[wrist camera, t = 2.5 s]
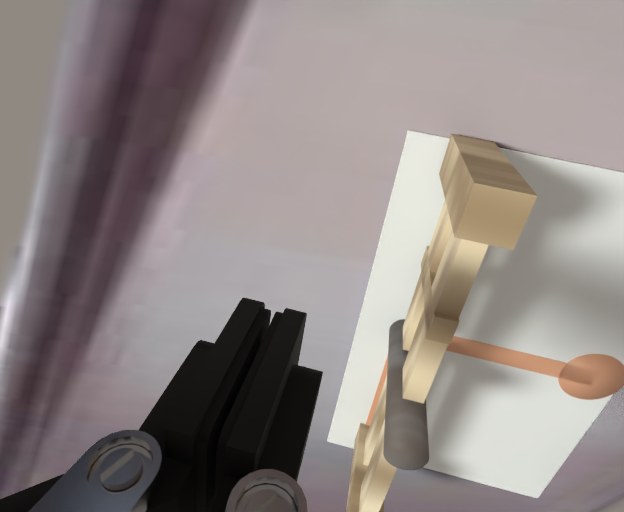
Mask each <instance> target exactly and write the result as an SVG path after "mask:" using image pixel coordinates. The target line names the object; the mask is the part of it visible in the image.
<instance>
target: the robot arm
mask: <svg viewBox="0 0 624 512" xmlns="http://www.w3.org/2000/svg"><path fill="white" fill-rule="evenodd" d="M264 307H265V305H264V302H259V301H255V300H251V299H247V298H242V299H241V301H240V302H239V304H238V306H237V307H236V309H235V311H234V312H233V314H232V316H231V317H230V319H229V321H228V322H227V324H226V326H225V327H224V329H223V331H222V332H221V334H220V335H219V337H218V339H217V340H216V342H215V344H214V343H210V342H206V341H202V340H200V341H198V342H197V343H196V345H195V346H194V347H193V349H192V350H191V352H190V353H189V355H188V356H187V358H186V359H185V361H184V362H183V364H182V365H181V367H180V368H179V370H178V371H177V373H176V374H175V376H174V377H173V379H172V380H171V382H170V383H169V385H168V386H167V388H166V390H165V391H164V393H163V394H162V396H161V397H160V399H159V400H158V402H157V403H156V405H155V406H154V408H153V409H152V411H151V412H150V414H149V415H148V417H147V418H146V420H145V421H144V423H143V424H142V426H141V427H140V429H139V430H122V431H118V432H114V433H111V434H109V435H107V436H105V437H103V438H101V439H99V440H98V441H97V442H96V443H95V444H93V445H92V446H91V447H90V448H89V449H88V450H87V451H86V452H85V453H84V454H83V455H82V456H81V457H80V458H79V459H78V460H77V461H76V462H75V463H74V464H73V465H72V467H71V468H70V469H69V470H68V471H67V472H66V473H65V474H62V475H60V476H57V477H55V478H52V479H50V480H47V481H45V482H42V483H40V484H37V485H35V486H32V487H30V488H28V489H25V490H23V491H20V492H18V493H15V494H13V495H10V496H8V497H5V498H3V499H0V512H307V503H306V498H305V496H304V493H303V491H302V488H301V487H300V486H299V485H298V483H297V479H298V474H299V470H300V466H301V462H302V458H303V454H304V450H305V446H306V442H307V438H308V434H309V430H310V426H311V421H312V417H313V413H314V409H315V405H316V400H317V396H318V392H319V387H320V383H321V378H322V374H323V372H321V371H317V370H314V369H310V368H306V367H302V366H298V361H299V355H300V350H301V344H302V339H303V333H304V327H305V322H306V315H307V314H306V313H304V312H300V311H296V310H292V309H288V308H286V309H285V310H284V312H283V313H280V312H276V313H275V315H274V317H273V319H272V322H271V324H270V316H271V310H268V309H264ZM269 324H270V326H269Z"/></svg>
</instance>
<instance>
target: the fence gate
mask: <svg viewBox="0 0 624 512" xmlns="http://www.w3.org/2000/svg"><path fill="white" fill-rule="evenodd" d="M439 176H440V180H441V184H442V188H443V192H444V196H445V201H444V204H443V207H442V210H441V213H440V216H439V219H438V222H437V225H436V228H435V231H434V234H433V237H432V240H431V243H430V246H427V247H426V250H425V253H424V256H423V259H422V262H421V273H420V276H419V279H418V282H417V286H416V289H415V292H414V295H413V298H412V301H411V304H410V307H409V310H408V313H407V316H406V319H405V322H404V325H403V350H407V351H409V352H408V355H407V358H406V360H405V363H404V366H403V398H404V399H408V400H412V401H415V402H419V403H423V404H424V401H425V399H426V397H427V394H428V392H429V389H430V387H431V384H432V382H433V380H434V377H435V375H436V372H437V370H438V367H439V365H440V363H441V360H442V358H443V355H444V353H445V350H446V348H447V346H448V344H449V345H450V343H451V341H452V339H453V336H454V334H455V331H456V329H457V327H458V324H459V316H460V314H461V311H462V309H463V307H464V304H465V302H466V299H467V297H468V294H469V292H470V290H471V287H472V285H473V282H474V280H475V277H476V275H477V273H478V270H479V268H480V265H481V263H482V260H483V258H484V256H485V253H486V251H487V248H488V246H489V245H492V246H496V247H501V248H505V249H510V250H514V248H515V245H516V243H517V241H518V239H519V236H520V234H521V232H522V230H523V227H524V225H525V223H526V221H527V219H528V216H529V214H530V212H531V210H532V207H533V205H534V203H535V201H536V198H537V194H536V193H535V192H534V191H533V190H532V188H531V187H530V186H529V185H528V183H527V182H526V181H525V180H524V178H523V177H522V176H521V175H520V174H519V172H518V171H517V170H516V169H515V167H514V166H513V165H512V164H511V163H510V161H509V160H508V159H507V158H506V156H505V155H504V154H503V153H502V151H501V150H500V149H499V148H498V147H497V145H496V144H495V143H494V142H492V141H486V140H481V139H476V138H471V137H466V136H461V135H456V134H451V137H450V140H449V143H448V146H447V149H446V153H445V156H444V159H443V162H442V165H441V169H440V172H439Z"/></svg>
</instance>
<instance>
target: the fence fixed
mask: <svg viewBox="0 0 624 512" xmlns="http://www.w3.org/2000/svg"><path fill="white" fill-rule="evenodd" d="M404 322H405V319H401V320H397V321H395V322H394V323H393V324H392V325H391V326H390V329H389V347H388V367H387V376H386V379H385V382H384V385H383V388H382V391H381V394H380V397H379V400H378V403H377V406H376V409H375V412H374V415H373V418H372V421H371V424H370V426H369V425H366V424H364V423H360V425H359V428H358V432H357V435H356V438H355V443H354V451H353V460H352V468H351V476H350V485H349V493H348V501H347V510H346V512H384V499H385V496H386V494H387V491H388V489H389V486H390V484H391V482H392V479H393V477H394V474H395V472H396V469H397V468H399V469H403V470H416V469H420V468H422V467H424V466H425V465H426V464H427V463H428V461H429V443H428V427H427V410H426V399H425V401H424V404H423V403H419V402H415V401H412V400H408V399H404V398H403V366H404V363H405V360H406V358H407V355H408V352H409V351H407V350H403V325H404Z"/></svg>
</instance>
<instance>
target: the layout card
mask: <svg viewBox="0 0 624 512" xmlns="http://www.w3.org/2000/svg"><path fill="white" fill-rule="evenodd" d="M449 140H450V138H448V137H443V136H438V135H432V134H427V133H422V132H417V131H412V130H408V132H407V136H406V140H405V144H404V148H403V151H402V155H401V159H400V163H399V167H398V171H397V174H396V178H395V182H394V186H393V190H392V194H391V197H390V201H389V205H388V209H387V213H386V217H385V220H384V224H383V228H382V232H381V236H380V240H379V243H378V247H377V251H376V255H375V259H374V263H373V266H372V270H371V274H370V278H369V282H368V286H367V289H366V293H365V297H364V301H363V305H362V309H361V312H360V316H359V320H358V324H357V328H356V332H355V336H354V339H353V343H352V347H351V351H350V355H349V359H348V362H347V366H346V370H345V374H344V378H343V382H342V385H341V389H340V393H339V397H338V401H337V405H336V408H335V412H334V416H333V420H332V424H331V428H330V431H329V435H328V439H327V441H328V442H331V443H335V444H339V445H342V446H346V447H350V448H353V449H354V443H355V438H356V435H357V432H358V428H359V425H360V423H364V424H366V425H369V426H370V424H371V421H372V418H373V415H374V412H375V409H376V406H377V403H378V400H379V397H380V394H381V391H382V388H383V385H384V382H385V379H386V376H387V367H388V347H389V329H390V326H391V325H392V324H393V323H394V322H395V321H397V320H401V319H406V316H407V313H408V310H409V307H410V304H411V301H412V298H413V295H414V292H415V289H416V286H417V282H418V279H419V276H420V273H421V262H422V259H423V256H424V253H425V250H426V247H427V246H430V243H431V240H432V237H433V234H434V231H435V228H436V225H437V222H438V219H439V216H440V213H441V210H442V207H443V204H444V201H445V196H444V192H443V188H442V184H441V180H440V176H439V172H440V169H441V165H442V162H443V159H444V156H445V153H446V149H447V146H448V143H449ZM498 148H499V147H498ZM499 149H500V150H501V151H502V153H503V154H504V155H505V156H506V158H507V159H508V160H509V161H510V163H511V164H512V165H513V166H514V167H515V169H516V170H517V171H518V172H519V174H520V175H521V176H522V177H523V178H524V180H525V181H526V182H527V183H528V185H529V186H530V187H531V188H532V190H533V191H534V192H535V193H536V194H537V198H536V201H535V203H534V205H533V207H532V210H531V212H530V214H529V216H528V219H527V221H526V223H525V225H524V227H523V230H522V232H521V234H520V236H519V239H518V241H517V243H516V245H515V248H514V250H510V249H505V248H501V247H496V246H492V245H489V246H488V248H487V251H486V253H485V256H484V258H483V260H482V263H481V265H480V268H479V270H478V273H477V275H476V277H475V280H474V282H473V285H472V287H471V290H470V292H469V294H468V297H467V299H466V302H465V304H464V307H463V309H462V311H461V314H460V316H459V324H458V327H457V329H456V331H455V334H454V336H453V339H452V341H451V343H450V345H449V344H448V346H447V348H446V350H445V353H444V355H443V358H442V360H441V363H440V365H439V367H438V370H437V372H436V375H435V377H434V380H433V382H432V384H431V387H430V389H429V392H428V394H427V397H426V410H427V427H428V443H429V461H428V463H427V464H426V465H425V466H424V467H423V468H427V469H431V470H434V471H438V472H442V473H446V474H449V475H453V476H457V477H460V478H464V479H468V480H471V481H475V482H479V483H482V484H486V485H490V486H493V487H497V488H501V489H504V490H508V491H512V492H515V493H519V494H523V495H527V496H530V497H534V498H538V497H539V496H540V494H541V493H542V492H543V490H544V489H545V488H546V486H547V485H548V483H549V482H550V481H551V479H552V478H553V477H554V475H555V474H556V473H557V471H558V470H559V468H560V467H561V466H562V464H563V463H564V462H565V460H566V459H567V457H568V456H569V455H570V453H571V452H572V451H573V449H574V448H575V446H576V445H577V444H578V442H579V441H580V440H581V438H582V437H583V436H584V434H585V433H586V431H587V430H588V429H589V427H590V426H591V425H592V423H593V422H594V420H595V419H596V418H597V416H598V415H599V414H600V412H601V411H602V409H603V408H604V407H605V405H606V404H607V403H608V401H609V400H610V399H611V397H612V396H613V394H614V393H615V392H617V391H618V390H619V389H620V388H621V387H622V386H623V385H624V172H622V171H617V170H611V169H606V168H601V167H596V166H591V165H586V164H581V163H576V162H571V161H565V160H560V159H555V158H550V157H545V156H540V155H535V154H530V153H525V152H519V151H514V150H509V149H504V148H499Z"/></svg>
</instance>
